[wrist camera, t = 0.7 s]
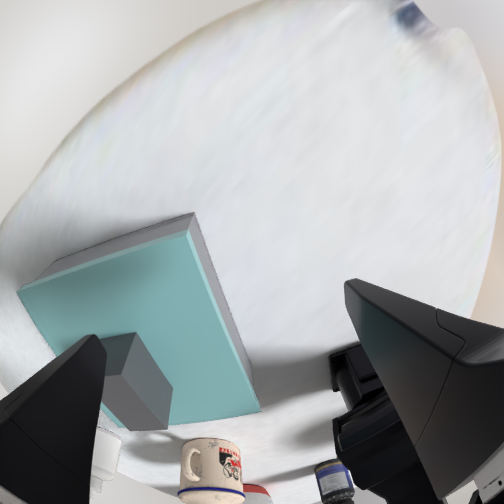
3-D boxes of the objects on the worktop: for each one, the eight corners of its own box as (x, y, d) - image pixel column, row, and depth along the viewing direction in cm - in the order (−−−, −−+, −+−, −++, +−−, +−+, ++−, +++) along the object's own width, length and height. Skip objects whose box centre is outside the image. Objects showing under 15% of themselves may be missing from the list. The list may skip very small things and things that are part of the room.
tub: (250, 363, 27) (255, 402, 22) (131, 384, 27) (121, 418, 23) (194, 212, 21) (185, 235, 16) (55, 261, 21) (26, 288, 16)
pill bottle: (340, 467, 42) (352, 510, 32) (311, 472, 42) (321, 517, 32) (348, 455, 40) (363, 502, 30) (317, 461, 39) (330, 511, 29)
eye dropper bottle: (100, 422, 31) (82, 489, 20) (127, 441, 33) (115, 505, 22) (84, 425, 31) (66, 487, 20) (110, 443, 34) (97, 503, 23)
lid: (258, 393, 24) (266, 449, 18) (123, 411, 24) (111, 458, 18) (190, 222, 17) (173, 268, 11) (30, 278, 17) (-12, 321, 12)
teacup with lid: (250, 455, 36) (257, 518, 25) (198, 463, 37) (198, 522, 26) (216, 422, 31) (218, 502, 20) (157, 431, 32) (149, 503, 21)
